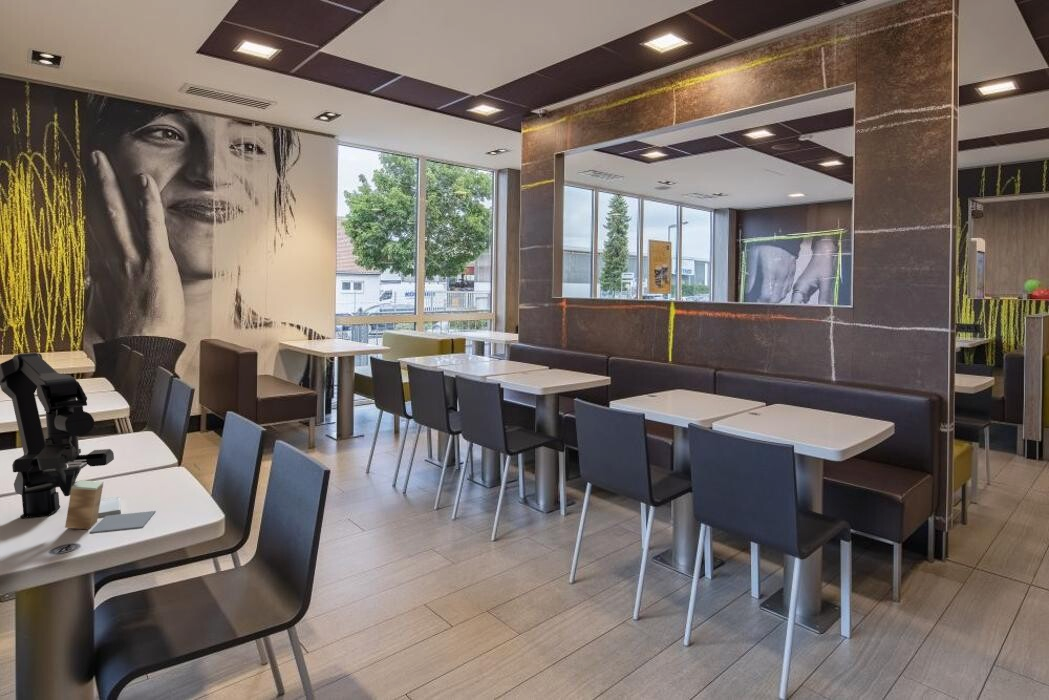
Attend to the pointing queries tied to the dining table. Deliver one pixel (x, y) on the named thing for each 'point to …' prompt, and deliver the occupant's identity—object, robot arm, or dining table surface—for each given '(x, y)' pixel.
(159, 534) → the dining table surface
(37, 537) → the dining table surface
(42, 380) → the robot arm
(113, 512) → the hard drive
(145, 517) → the grey mat
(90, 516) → the oak block
